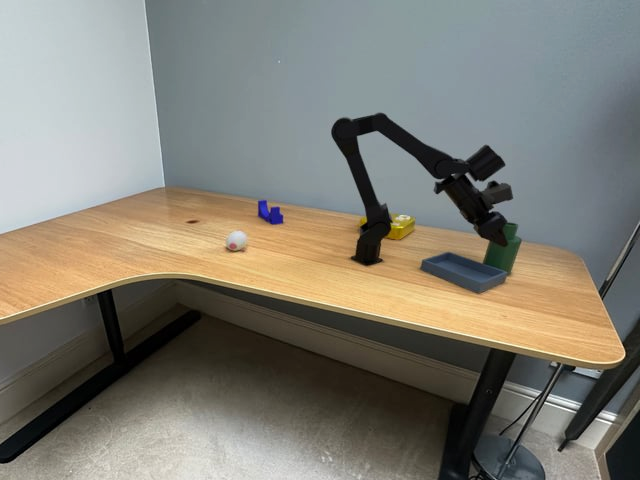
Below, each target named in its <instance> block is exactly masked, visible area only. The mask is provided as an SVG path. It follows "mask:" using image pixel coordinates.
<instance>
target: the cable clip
mask: <svg viewBox="0 0 640 480" xmlns="http://www.w3.org/2000/svg"><path fill="white" fill-rule="evenodd" d="M257 216H258V218H260V219H262V220H264V221H265V222H267V223H269V224H270V225H273V226H274V225H281V224H284V214H282V213H281V207H280V206H271V207H270V210H269V208H268V201H267V200H266V199H260V200H257Z"/></svg>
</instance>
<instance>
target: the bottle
mask: <svg viewBox="0 0 640 480" xmlns="http://www.w3.org/2000/svg"><path fill="white" fill-rule="evenodd" d="M518 228H519V224H518V223H515V222H511V221H508V222H507V223H506V225H505V226H504V227H503V232H504V234H505V237H506V240H507V242H508V246H506V247H505V248H504V247H502V246H500V245H498V244H495V243H493V242H491V241H489V240H488V243H487V248H486V251H485V254H484V257H483V261H482V263H483V264H486V265H489V266H491V267H494V268H497V269H500V270H503V271H506V272H508V274H507V277H508V276H510V275H511V273H512V270H513V267H514V264H515V261H516V258H517V256H518V253H519V251H520V247H521V245H522V241H523V238H522V237H519V236H517V235H516V234H517V231H518Z"/></svg>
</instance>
